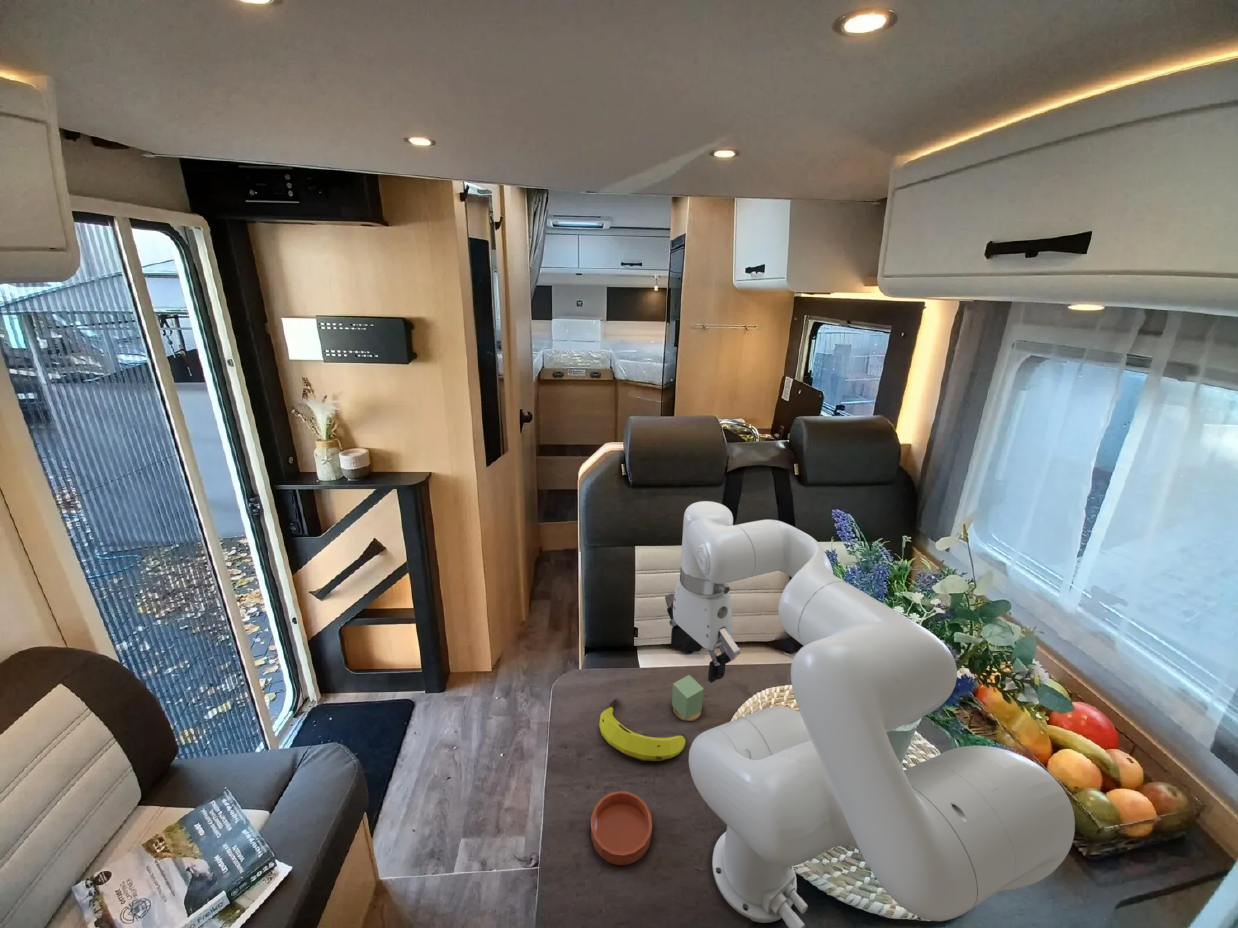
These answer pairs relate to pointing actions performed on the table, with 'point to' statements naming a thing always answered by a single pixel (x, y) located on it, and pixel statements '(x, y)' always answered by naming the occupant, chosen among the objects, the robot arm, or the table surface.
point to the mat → (688, 718)
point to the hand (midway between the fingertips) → (696, 660)
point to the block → (687, 697)
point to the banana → (638, 740)
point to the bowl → (621, 827)
